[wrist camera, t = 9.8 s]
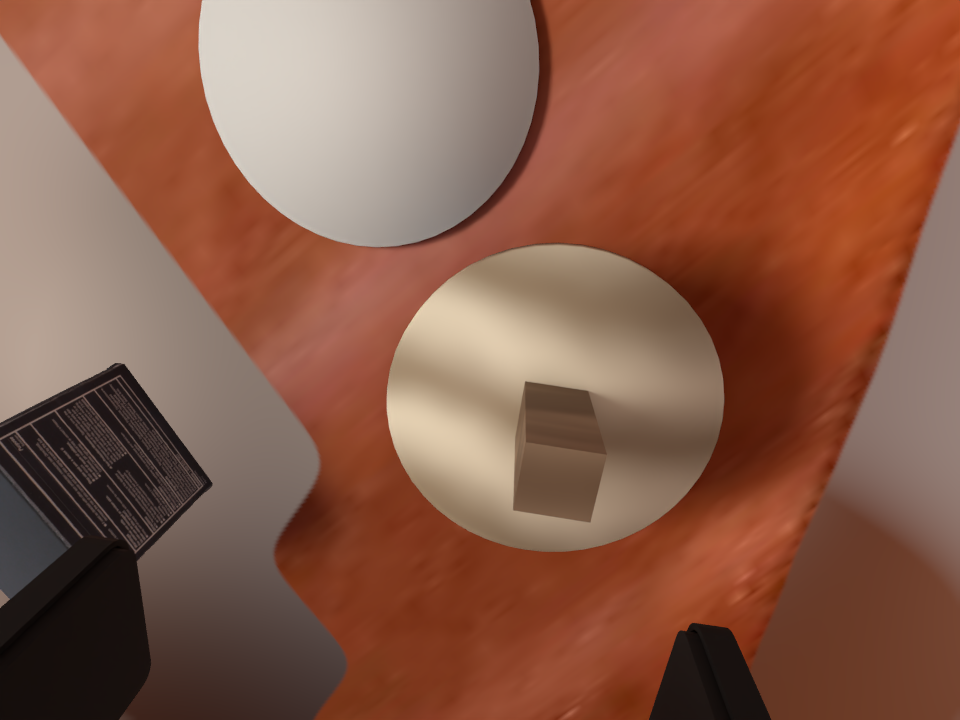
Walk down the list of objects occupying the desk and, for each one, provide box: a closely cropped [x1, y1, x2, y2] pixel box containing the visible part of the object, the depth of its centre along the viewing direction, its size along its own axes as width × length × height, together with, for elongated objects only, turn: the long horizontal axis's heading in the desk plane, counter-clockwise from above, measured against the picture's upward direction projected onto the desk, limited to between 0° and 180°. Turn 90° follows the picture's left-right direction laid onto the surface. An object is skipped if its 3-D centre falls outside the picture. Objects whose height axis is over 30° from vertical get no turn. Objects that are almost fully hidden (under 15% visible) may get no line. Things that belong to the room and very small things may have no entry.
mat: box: [199, 0, 539, 247], centre depth 28 cm, size 18×18×1 cm
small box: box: [0, 363, 212, 599], centre depth 33 cm, size 11×6×10 cm, turn 27°
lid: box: [387, 243, 724, 552], centre depth 23 cm, size 16×16×7 cm
